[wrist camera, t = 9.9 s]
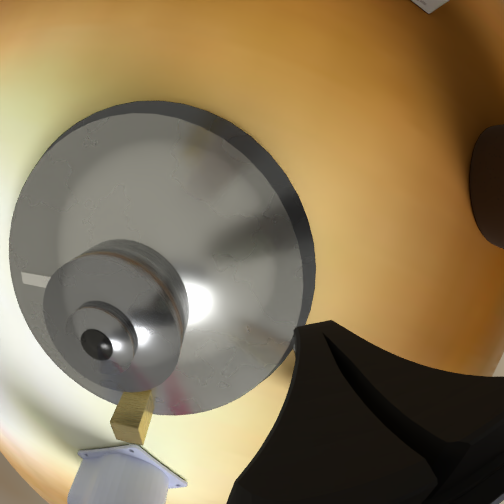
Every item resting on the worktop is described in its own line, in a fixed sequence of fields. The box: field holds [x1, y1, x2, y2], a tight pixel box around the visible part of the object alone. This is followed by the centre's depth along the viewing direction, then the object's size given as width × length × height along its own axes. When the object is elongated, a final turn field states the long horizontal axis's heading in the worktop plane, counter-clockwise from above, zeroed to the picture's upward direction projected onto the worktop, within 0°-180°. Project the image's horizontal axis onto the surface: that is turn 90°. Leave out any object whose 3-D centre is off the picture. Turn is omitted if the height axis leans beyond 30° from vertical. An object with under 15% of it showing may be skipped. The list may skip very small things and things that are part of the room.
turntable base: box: [36, 101, 316, 383], centre depth 15 cm, size 19×19×1 cm
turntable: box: [9, 113, 303, 445], centre depth 12 cm, size 17×17×4 cm
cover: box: [43, 239, 190, 392], centre depth 11 cm, size 6×6×4 cm
